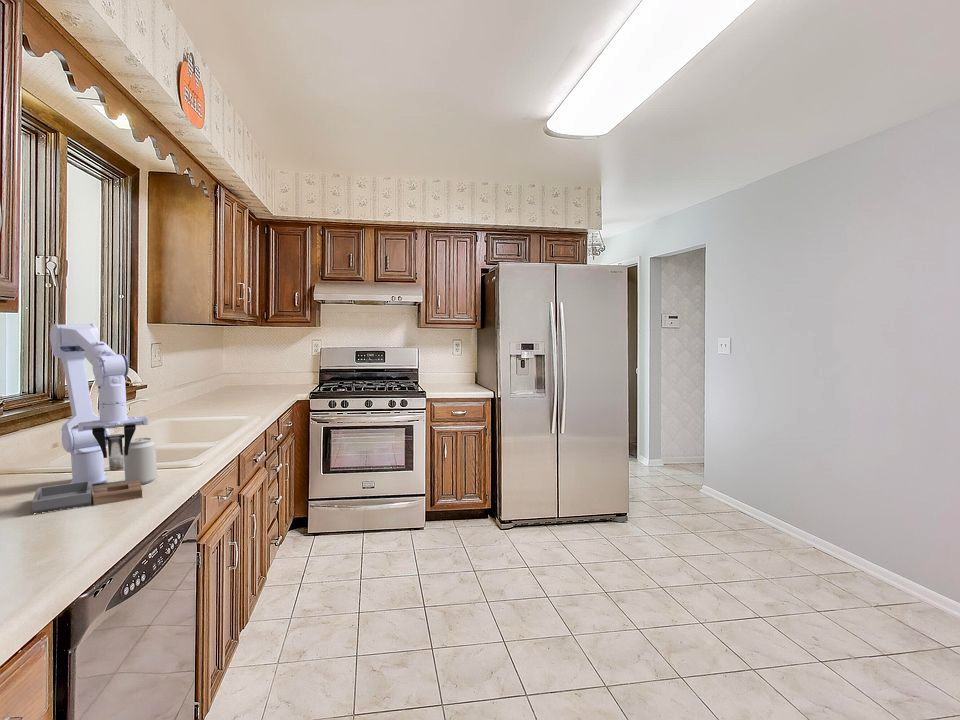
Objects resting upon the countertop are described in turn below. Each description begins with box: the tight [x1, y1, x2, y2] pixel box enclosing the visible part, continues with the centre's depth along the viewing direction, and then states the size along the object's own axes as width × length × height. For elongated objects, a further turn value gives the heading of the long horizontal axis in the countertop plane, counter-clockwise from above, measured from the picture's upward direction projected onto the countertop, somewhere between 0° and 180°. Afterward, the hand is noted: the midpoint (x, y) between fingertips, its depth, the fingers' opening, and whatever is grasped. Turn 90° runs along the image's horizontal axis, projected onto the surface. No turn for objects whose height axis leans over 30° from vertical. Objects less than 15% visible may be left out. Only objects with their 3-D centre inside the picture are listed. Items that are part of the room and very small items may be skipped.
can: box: [123, 437, 158, 485], centre depth 149 cm, size 8×8×12 cm
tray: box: [31, 480, 94, 515], centre depth 132 cm, size 13×11×3 cm
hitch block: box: [92, 480, 143, 506], centre depth 137 cm, size 10×10×2 cm
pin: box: [105, 433, 125, 472], centre depth 136 cm, size 4×4×9 cm
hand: (115, 455), depth 136 cm, fingers closed on pin, 4 cm apart
